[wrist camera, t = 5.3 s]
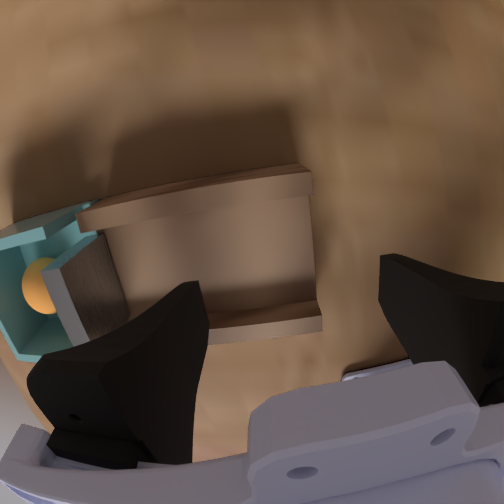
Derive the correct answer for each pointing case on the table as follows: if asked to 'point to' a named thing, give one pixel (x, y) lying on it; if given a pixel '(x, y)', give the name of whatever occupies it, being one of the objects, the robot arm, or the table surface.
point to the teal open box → (11, 273)
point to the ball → (37, 287)
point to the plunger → (86, 290)
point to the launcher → (219, 249)
